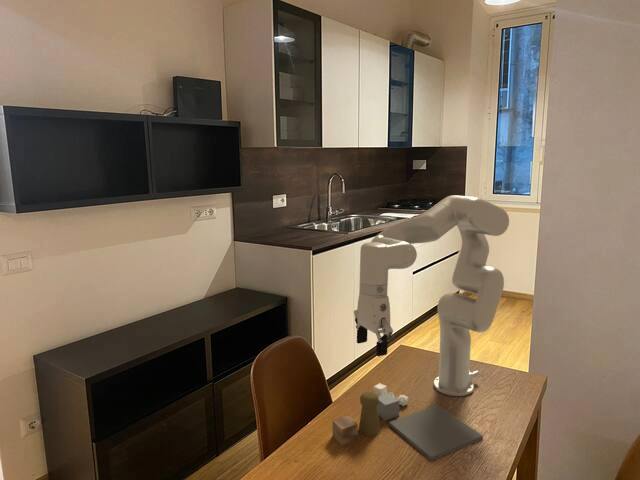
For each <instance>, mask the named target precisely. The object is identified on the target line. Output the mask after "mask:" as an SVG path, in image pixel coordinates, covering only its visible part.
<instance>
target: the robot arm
mask: <svg viewBox="0 0 640 480" xmlns="http://www.w3.org/2000/svg"><path fill="white" fill-rule="evenodd" d="M456 226H457V228H458V231H459V234H460V238H461V247H460V248H461V249H460V252H459V255H458V258H457V260H456V263H455V267H454V271H453V273H452V278H451V281H452V285H453V287H455V288H456V289H458V290H460V291H463V292H467V293H470V294H473V295H476V296H477V297H476V298H473V297H470V296H468V295H464V294H460V293H456V292H447V293H445V294H443V295H442V296H441V297H440V299H439V300H438V302H437V317H438V320H439V321H438V322H439V358H438V359H439V362H438V376H437V377H436V378H435V379H434V380H433V386H434V388H435V389H436V390H437V391H438V392H440V393H442V394H443V395H446V396H450V397H451V396H452V397H464V396H468V395H471V394H472V393H473V392H474V389H475V388H474V387H475V385H474V383H473V382H472V380H473V379H474V378H478V377H480V372H479V371H478V370H474V371H472V372H471V369H470V364H471V363H470V362H471V360H470V359H471V345H472V344H471V342H472V338H471V337H472V336H471V332H472V331H473V332H475V333H485V332H487V331H488V330H489V329H490V327H491V326H492V323H493V322H494V320H495V315H496V313H497V309H498V307H499V304H500V301H501V298H502V294H503V291H504V287H505V286H504V285H505V280H504V279H505V278H504V274H503V273H502V271H501V270H500V269H498V268H497V267H494V266H490V265H487V261H488V257H489V253H490V244H489V241H488V240H487V238H486V235H487V236H492V237H497V236H498V237H499V236H502V235H503V234H504V233H506V232H507V230H508V228H509V226H510V218H509V214H508V212H507V211H506V209H504V208H502V207H501V206H498V205H495V204H493V203H491V202H490V201H488V200H485V199H482V198H479V197H476V196H475V197H474V196H466V195H458V194H456V195H453V194H452V195H449V196H446V197H444V198H443V199H441V200H440V201H438V202H437V203H436V204H435V205H433V206H432V207H430V208H429V209H427V210H426V211H425V212H423V213H422V214H421V215H419V216H416V217H411V218H410V219H407V220H403V221H399V222H398V223H394V224H393V225H390V226H388V227H386V228H385V229H383V230H382V231H381V232H380V233H377V234H376V235H375V236H374V237H373V239H371V240H370V242H364V243H363V244H362V245H361V246H360V255H359V256H360V257H359V258H360V259H359V263H360V264H359V289H358V290H359V291H358V293H359V294H358V299H357V309H355V310H353V315H354V321H355V324H356V325H355V329H356V343H357V344H364V343H367V342H368V331H370V332H372V333H374V334H375V335H376V338H377V339H376V340H377V341H376V349H375V350H376V351H375V352H376V356H377V357H382V356H386V355H388V344H389V343H388V342H390V339H391V338H392V335H393V332H394V329H393V328H392V326H391V307H390V306H391V305H390V298H389V296H388V289H389V287H388V286H389V283H388V282H389V280H388V279H389V270H394V269H395V270H404V269H408V268H410V267H412V266H413V264H414V263H415V262H416V261H417V257H418V253H417V250H416V247H415V246H414V245H415V244H425V243H432V242H435V241H438V240H439V239H441V238H442V237H443V236H444V235H445V234H447V233H448V232H449V231H451V230H452V229H453V228H454V227H456ZM413 244H414V245H413ZM470 331H471V332H470ZM381 334H383V335H381Z"/></svg>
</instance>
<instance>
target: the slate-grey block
mask: <svg viewBox="0 0 640 480" xmlns="http://www.w3.org/2000/svg"><path fill="white" fill-rule="evenodd" d="M386 393H387V394H384V395H381V396H378V398H379V403H378V405H377V411H378V417H380V418H381V419H383V420H384V421H388V420H390V419H393V418H397V417H399V416H400V405H399V400H398V399H397V397H394V396H395V395H394V396H393V395H391V394H390V392H386Z"/></svg>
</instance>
